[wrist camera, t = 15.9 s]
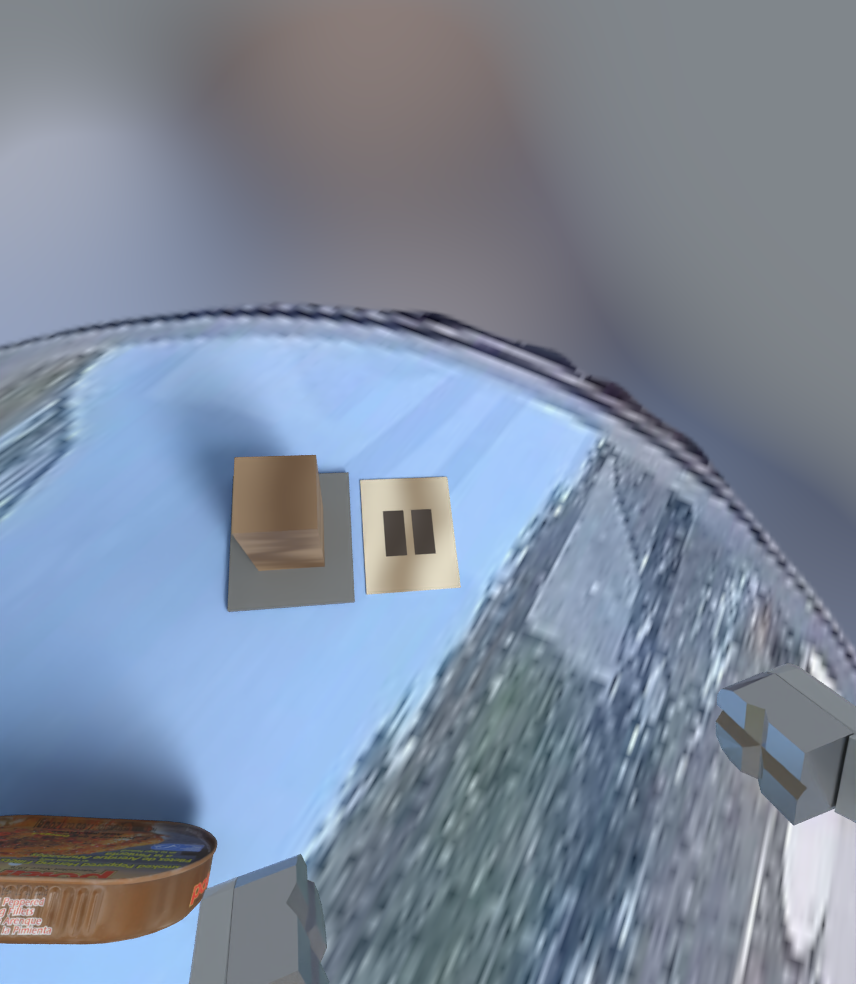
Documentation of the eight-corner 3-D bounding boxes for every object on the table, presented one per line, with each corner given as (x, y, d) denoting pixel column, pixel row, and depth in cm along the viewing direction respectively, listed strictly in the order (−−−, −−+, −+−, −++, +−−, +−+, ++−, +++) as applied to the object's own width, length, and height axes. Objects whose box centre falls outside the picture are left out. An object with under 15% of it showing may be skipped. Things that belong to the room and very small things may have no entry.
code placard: (366, 595, 37) (366, 594, 37) (360, 482, 41) (360, 479, 40) (459, 588, 38) (460, 587, 38) (446, 478, 42) (447, 476, 41)
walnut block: (258, 570, 36) (231, 533, 28) (259, 509, 38) (234, 457, 29) (324, 566, 37) (317, 528, 29) (322, 506, 38) (315, 454, 30)
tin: (232, 824, 31) (193, 866, 23) (221, 887, 30) (175, 954, 22) (-36, 810, 29) (-174, 851, 22) (-60, 876, 28) (-215, 945, 20)
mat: (229, 611, 35) (227, 610, 35) (234, 479, 39) (233, 476, 38) (354, 602, 37) (354, 601, 36) (348, 475, 40) (348, 472, 40)
